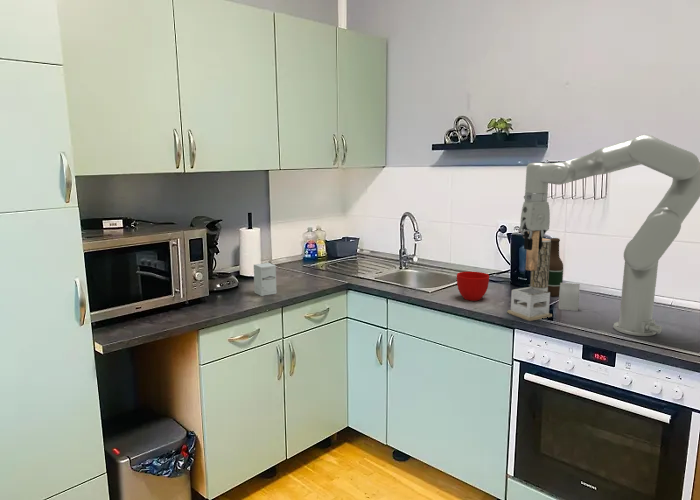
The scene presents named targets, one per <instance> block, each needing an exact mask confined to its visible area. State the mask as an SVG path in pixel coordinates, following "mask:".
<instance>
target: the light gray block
mask: <svg viewBox="0 0 700 500" xmlns="http://www.w3.org/2000/svg"><path fill="white" fill-rule="evenodd" d="M580 286H581V285H580V283H573V282H572V283H570V282H562V283H560V291H559V296H558V310H561V311H572V312H573V311H575V312H578V311H579V304H580V302H579V301H580Z"/></svg>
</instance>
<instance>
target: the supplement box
mask: <svg viewBox="0 0 700 500" xmlns="http://www.w3.org/2000/svg"><path fill="white" fill-rule="evenodd" d="M253 281H254V282H253V283H254V284H253V286H254V288H253V289H254V290H253V291H254V293H255V294H256V295H257V296H259V297H264V296H270V295H276V294H278V293H277V265H276V264H273V263H270V262H266V263H257V264H253Z"/></svg>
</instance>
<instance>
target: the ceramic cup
mask: <svg viewBox="0 0 700 500" xmlns="http://www.w3.org/2000/svg"><path fill="white" fill-rule="evenodd" d="M489 283H490V275H489V274H488V273H485V272H481V271H460V272H458V273H456V284H457V285H456V286H457V289H458V292H459V293H460V295H461V296H462V298H463V299H464V300H466V301H475V302H476V301H479V300H481V299H482V298H483V297H484V296H485V294H486V293H487V291H488V287H489Z"/></svg>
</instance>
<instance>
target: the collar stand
mask: <svg viewBox="0 0 700 500" xmlns="http://www.w3.org/2000/svg"><path fill="white" fill-rule="evenodd" d="M550 298H551V296H550V292H547V291H543V290H540V289H536V288H533V287H530V286H528V287H519V288H515V289H511V296H510V309H508V310H507V312H506V313H507V314H509V315H512V316H515V317H517V318H520V319H523V320H525V321H528V322H532V321H537V320H538V321H539V320H543V319H548V318H551V317H553V313H550V302H551V301H550ZM547 317H548V318H547ZM542 318H543V319H542Z"/></svg>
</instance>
